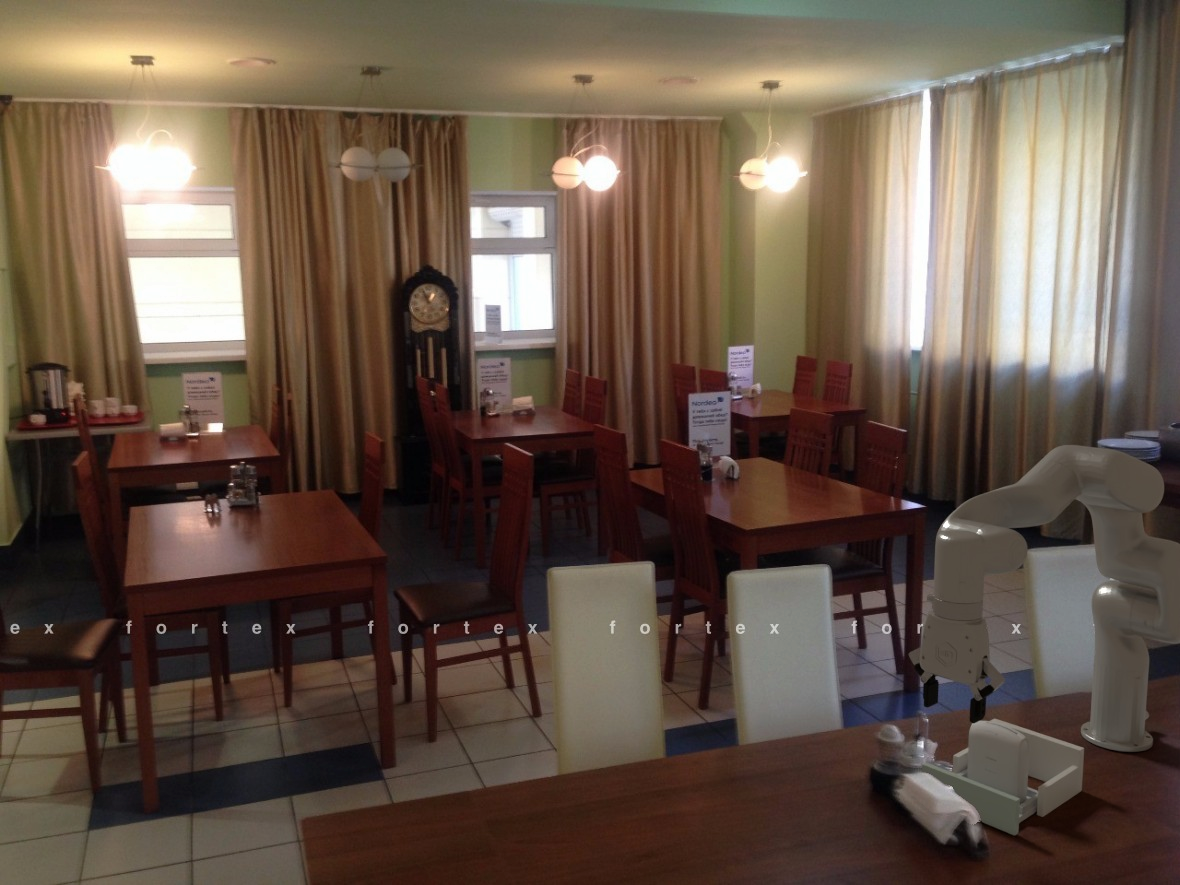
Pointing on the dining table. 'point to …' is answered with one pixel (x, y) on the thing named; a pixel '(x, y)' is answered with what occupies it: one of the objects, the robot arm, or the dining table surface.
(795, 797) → the dining table surface
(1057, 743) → the dock
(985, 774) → the photo printer
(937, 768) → the tray
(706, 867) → the dining table surface
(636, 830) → the dining table surface
